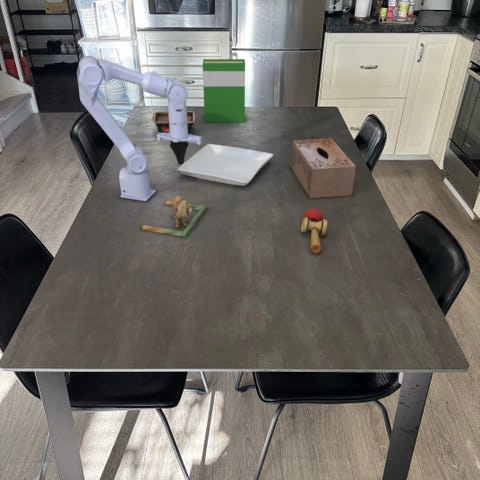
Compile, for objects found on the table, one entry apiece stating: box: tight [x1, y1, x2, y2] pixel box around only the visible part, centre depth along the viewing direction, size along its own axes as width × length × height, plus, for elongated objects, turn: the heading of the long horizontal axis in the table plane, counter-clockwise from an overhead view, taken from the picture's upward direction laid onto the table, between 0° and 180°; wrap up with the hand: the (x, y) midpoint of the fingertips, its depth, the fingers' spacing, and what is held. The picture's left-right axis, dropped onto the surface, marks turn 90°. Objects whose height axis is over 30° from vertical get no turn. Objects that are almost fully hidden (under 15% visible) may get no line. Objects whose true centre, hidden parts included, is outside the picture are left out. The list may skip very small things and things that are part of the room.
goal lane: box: [141, 200, 208, 238], centre depth 165 cm, size 14×18×1 cm
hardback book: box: [202, 58, 246, 123], centre depth 231 cm, size 18×7×24 cm, turn 91°
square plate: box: [176, 143, 274, 187], centre depth 193 cm, size 27×27×4 cm
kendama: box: [300, 208, 328, 254], centre depth 155 cm, size 8×6×18 cm
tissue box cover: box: [290, 137, 357, 199], centre depth 185 cm, size 26×14×10 cm, turn 10°
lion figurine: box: [172, 194, 194, 228], centre depth 162 cm, size 15×5×9 cm, turn 20°
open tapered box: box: [151, 110, 197, 134], centre depth 222 cm, size 14×18×10 cm
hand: (181, 163), depth 176 cm, fingers closed
